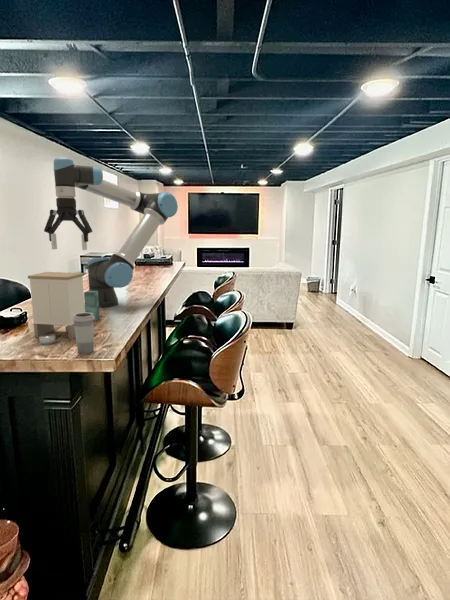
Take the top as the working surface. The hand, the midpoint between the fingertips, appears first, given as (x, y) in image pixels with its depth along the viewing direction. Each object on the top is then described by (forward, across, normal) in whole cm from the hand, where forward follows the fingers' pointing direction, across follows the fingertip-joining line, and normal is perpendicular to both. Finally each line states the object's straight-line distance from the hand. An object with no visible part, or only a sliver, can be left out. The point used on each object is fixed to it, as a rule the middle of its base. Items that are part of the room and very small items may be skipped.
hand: (69, 249), depth 164 cm
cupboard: (+29, +10, -28) cm, 41 cm away
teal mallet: (+29, +11, -14) cm, 34 cm away
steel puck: (+29, +11, -38) cm, 49 cm away
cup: (+29, +28, -44) cm, 60 cm away
